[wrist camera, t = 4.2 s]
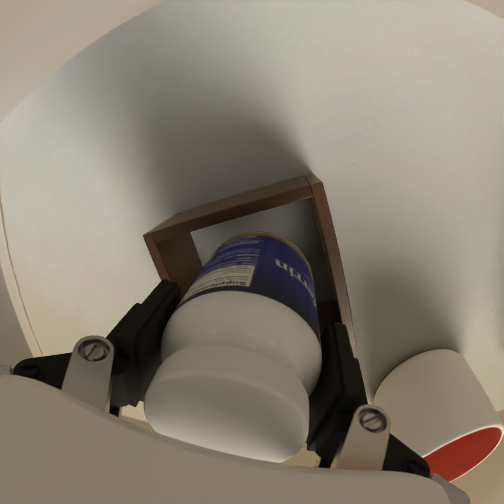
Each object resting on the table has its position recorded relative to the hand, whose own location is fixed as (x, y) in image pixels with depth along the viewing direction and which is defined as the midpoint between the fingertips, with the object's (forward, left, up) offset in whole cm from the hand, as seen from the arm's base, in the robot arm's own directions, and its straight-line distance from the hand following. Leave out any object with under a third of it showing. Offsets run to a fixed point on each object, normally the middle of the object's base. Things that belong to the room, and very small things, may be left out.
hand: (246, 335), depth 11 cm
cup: (+16, +11, -9) cm, 22 cm away
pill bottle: (0, 0, -5) cm, 5 cm away
